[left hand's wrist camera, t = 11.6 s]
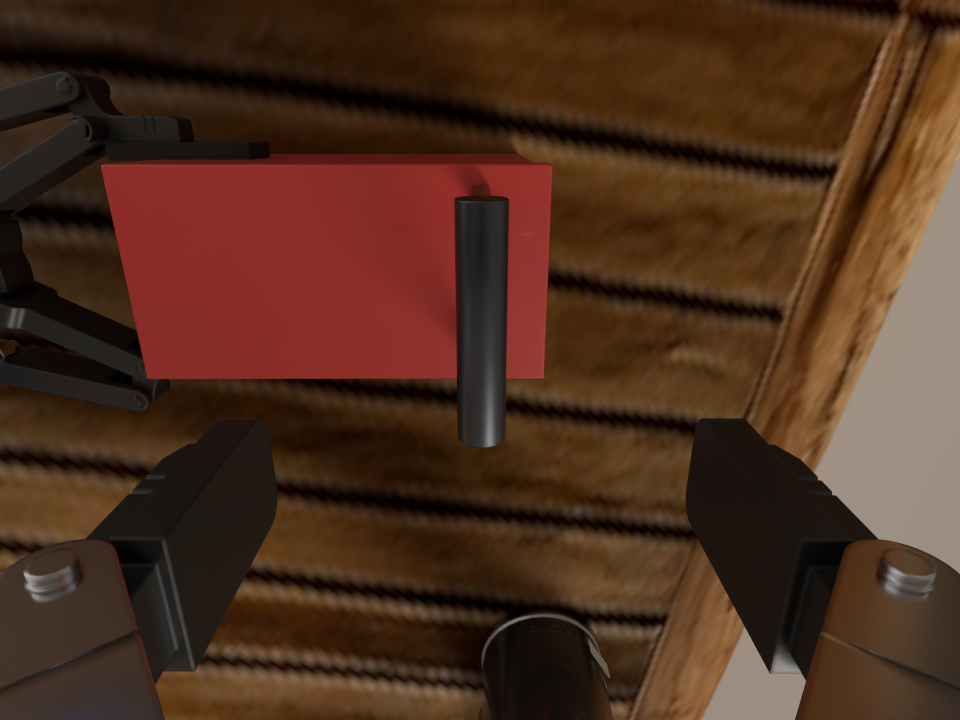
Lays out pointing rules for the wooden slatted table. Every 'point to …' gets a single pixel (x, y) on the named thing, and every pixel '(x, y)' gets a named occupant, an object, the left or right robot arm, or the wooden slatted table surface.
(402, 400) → the wooden slatted table surface
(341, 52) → the wooden slatted table surface
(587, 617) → the wooden slatted table surface
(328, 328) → the lid
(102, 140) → the right robot arm
